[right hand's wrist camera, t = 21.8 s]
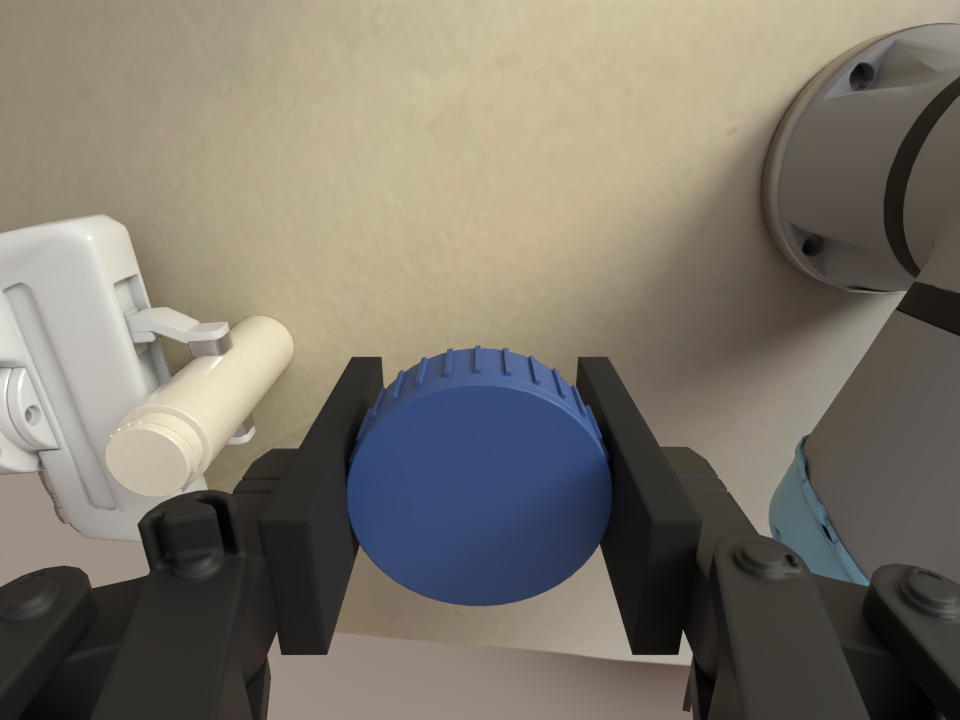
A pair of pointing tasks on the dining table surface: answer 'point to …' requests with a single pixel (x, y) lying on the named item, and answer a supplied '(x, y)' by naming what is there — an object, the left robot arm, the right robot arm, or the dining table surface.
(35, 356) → the left robot arm
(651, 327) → the dining table surface
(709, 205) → the dining table surface
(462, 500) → the lid
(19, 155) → the dining table surface
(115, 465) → the white cylindrical bottle
